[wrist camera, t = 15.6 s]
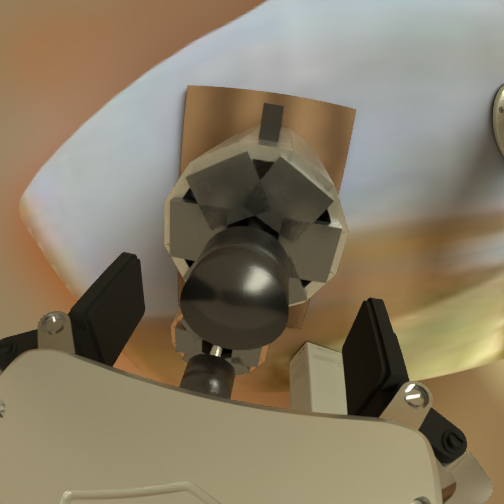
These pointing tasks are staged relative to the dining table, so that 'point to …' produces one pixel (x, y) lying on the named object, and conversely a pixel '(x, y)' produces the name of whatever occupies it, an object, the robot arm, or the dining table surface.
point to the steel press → (261, 202)
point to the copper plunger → (209, 374)
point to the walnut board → (249, 115)
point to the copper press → (194, 345)
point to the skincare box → (317, 380)
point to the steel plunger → (239, 286)
